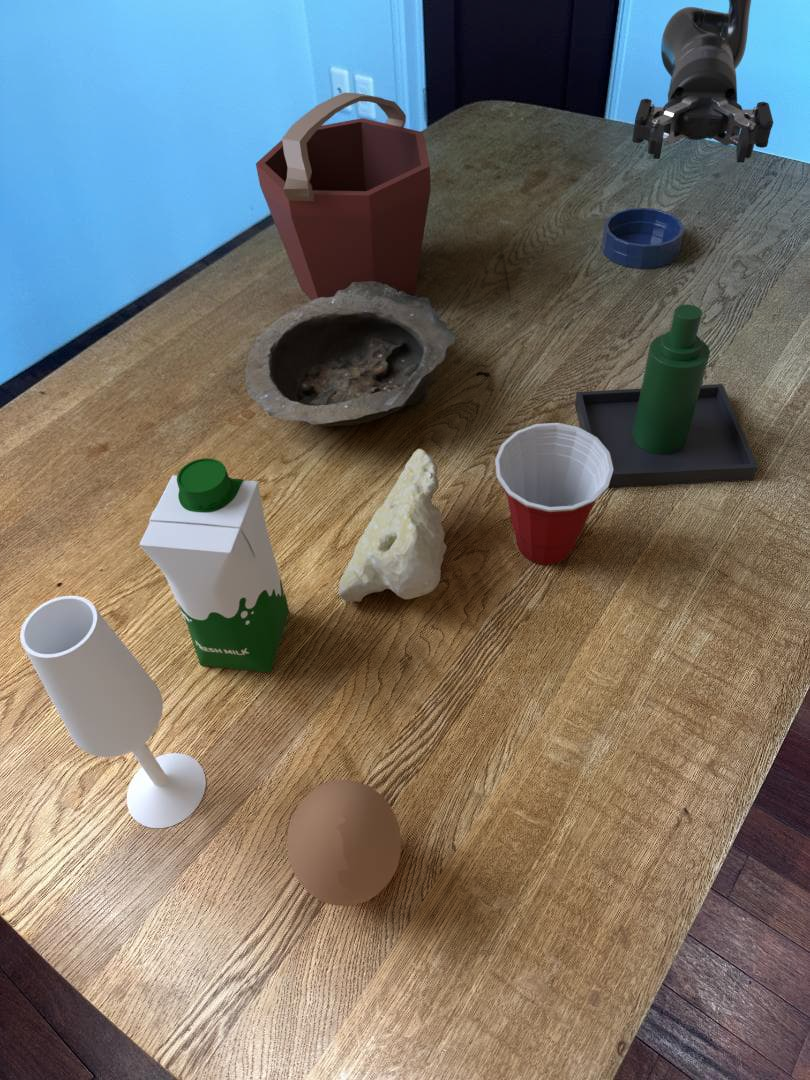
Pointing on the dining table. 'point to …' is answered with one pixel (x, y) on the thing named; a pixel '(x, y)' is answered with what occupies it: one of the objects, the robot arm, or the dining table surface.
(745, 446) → the tray
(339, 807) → the egg
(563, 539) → the plastic cup
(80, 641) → the champagne flute
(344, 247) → the bucket
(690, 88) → the robot arm
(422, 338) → the stone bowl
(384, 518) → the cheese
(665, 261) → the bowl
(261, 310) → the dining table surface
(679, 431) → the bottle
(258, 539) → the milk carton
